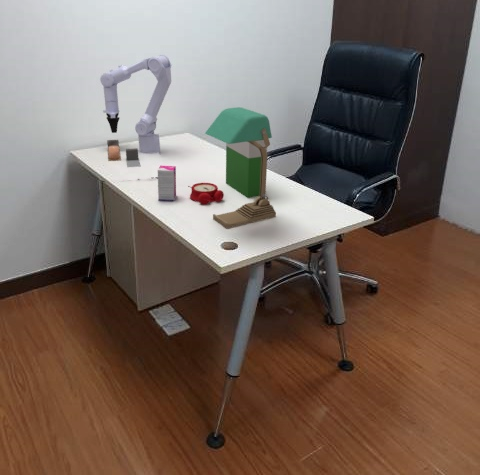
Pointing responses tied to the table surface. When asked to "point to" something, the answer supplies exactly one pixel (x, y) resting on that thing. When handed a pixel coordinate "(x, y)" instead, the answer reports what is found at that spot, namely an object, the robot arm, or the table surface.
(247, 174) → the hardback book
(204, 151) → the table surface
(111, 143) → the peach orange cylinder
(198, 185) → the alarm clock
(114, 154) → the terracotta canister
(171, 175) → the supplement box
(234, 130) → the banker's lamp
